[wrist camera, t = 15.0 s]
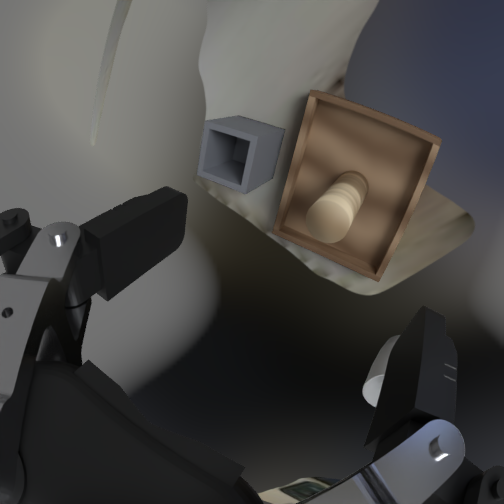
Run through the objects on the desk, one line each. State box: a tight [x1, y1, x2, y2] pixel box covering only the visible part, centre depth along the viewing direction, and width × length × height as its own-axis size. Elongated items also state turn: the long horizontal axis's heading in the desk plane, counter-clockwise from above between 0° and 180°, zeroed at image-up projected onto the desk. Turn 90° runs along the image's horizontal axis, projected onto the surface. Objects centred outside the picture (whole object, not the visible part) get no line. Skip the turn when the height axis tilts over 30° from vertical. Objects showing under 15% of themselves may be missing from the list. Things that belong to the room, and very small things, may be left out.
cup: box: [363, 335, 400, 407], centre depth 42 cm, size 8×8×10 cm
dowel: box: [306, 170, 369, 243], centre depth 33 cm, size 4×4×13 cm
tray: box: [272, 90, 442, 282], centre depth 38 cm, size 20×16×3 cm
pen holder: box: [197, 116, 285, 194], centre depth 40 cm, size 7×7×8 cm
